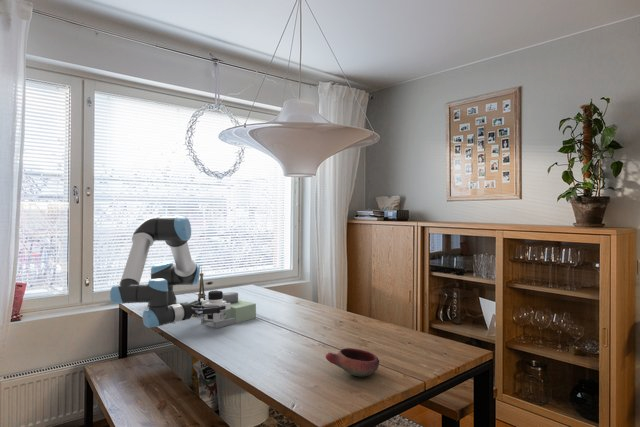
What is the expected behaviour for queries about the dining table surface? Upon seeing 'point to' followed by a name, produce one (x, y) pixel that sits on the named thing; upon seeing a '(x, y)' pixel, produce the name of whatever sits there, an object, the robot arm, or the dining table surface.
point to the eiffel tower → (200, 289)
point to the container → (215, 300)
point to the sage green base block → (234, 311)
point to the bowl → (355, 361)
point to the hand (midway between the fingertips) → (221, 303)
